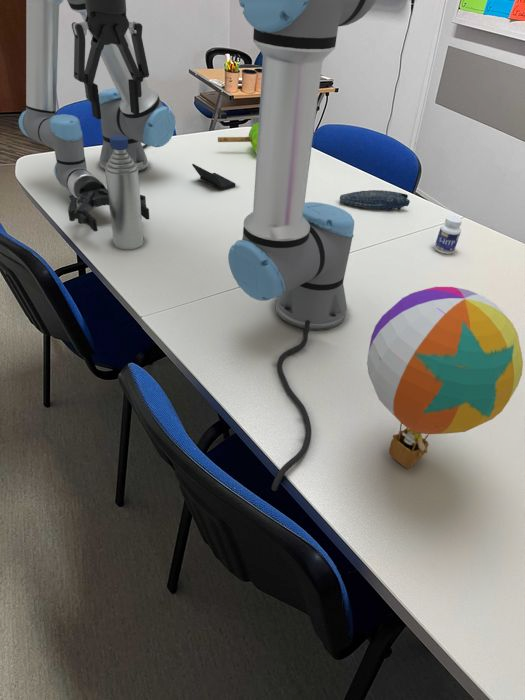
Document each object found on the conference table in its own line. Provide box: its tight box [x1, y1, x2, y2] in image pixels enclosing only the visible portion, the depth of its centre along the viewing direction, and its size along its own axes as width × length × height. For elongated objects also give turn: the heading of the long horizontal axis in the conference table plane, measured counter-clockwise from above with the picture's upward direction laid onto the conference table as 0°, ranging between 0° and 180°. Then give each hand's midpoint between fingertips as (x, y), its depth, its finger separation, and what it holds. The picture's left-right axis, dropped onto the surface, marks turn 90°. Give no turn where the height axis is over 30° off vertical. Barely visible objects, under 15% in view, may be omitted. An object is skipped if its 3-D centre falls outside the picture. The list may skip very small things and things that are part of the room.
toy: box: [366, 286, 524, 469], centre depth 73 cm, size 20×20×30 cm
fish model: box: [339, 189, 411, 211], centre depth 158 cm, size 7×21×5 cm, turn 84°
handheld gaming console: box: [191, 163, 236, 191], centre depth 163 cm, size 12×7×10 cm
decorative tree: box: [217, 121, 259, 155], centre depth 187 cm, size 18×10×30 cm
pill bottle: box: [434, 215, 463, 255], centre depth 137 cm, size 5×5×9 cm
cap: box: [110, 135, 128, 150], centre depth 115 cm, size 4×4×2 cm
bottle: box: [104, 149, 144, 250], centre depth 123 cm, size 7×7×25 cm
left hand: (122, 220), depth 126 cm, fingers open, 13 cm apart
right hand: (116, 115), depth 112 cm, fingers open, 8 cm apart
